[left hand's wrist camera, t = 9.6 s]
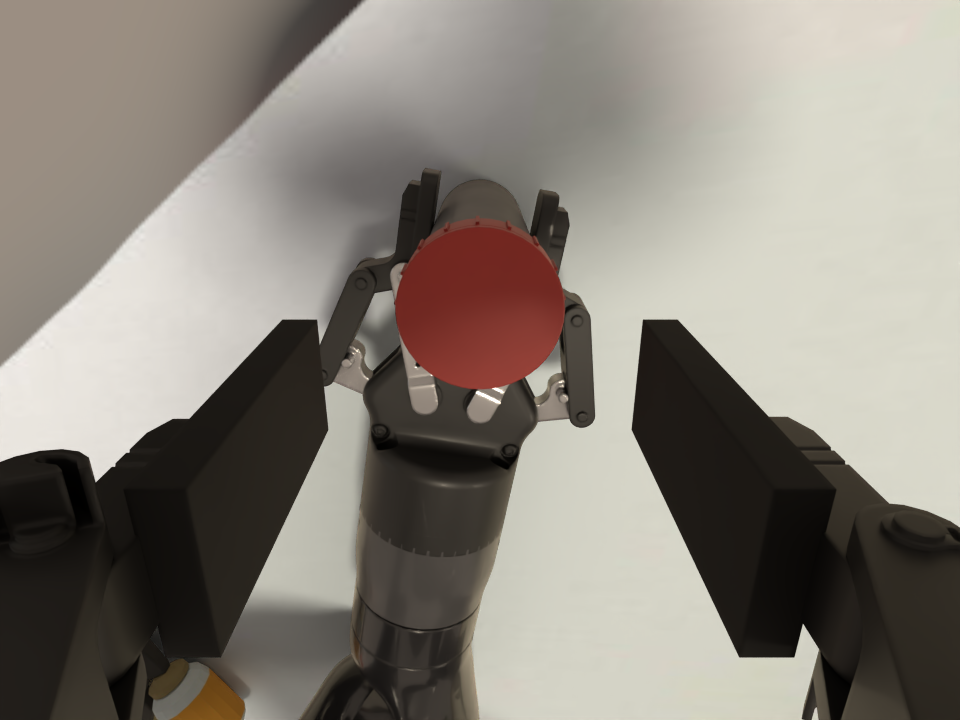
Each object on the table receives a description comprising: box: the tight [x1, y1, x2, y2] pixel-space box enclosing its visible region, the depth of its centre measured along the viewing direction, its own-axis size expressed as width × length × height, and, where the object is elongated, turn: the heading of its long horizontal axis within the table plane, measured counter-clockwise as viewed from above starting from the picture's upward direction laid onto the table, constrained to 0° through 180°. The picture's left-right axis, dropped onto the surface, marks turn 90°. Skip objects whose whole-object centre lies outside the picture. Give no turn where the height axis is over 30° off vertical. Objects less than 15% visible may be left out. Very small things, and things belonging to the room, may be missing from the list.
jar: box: [430, 180, 530, 235], centre depth 26 cm, size 4×4×16 cm
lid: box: [394, 216, 566, 389], centre depth 19 cm, size 5×5×2 cm
